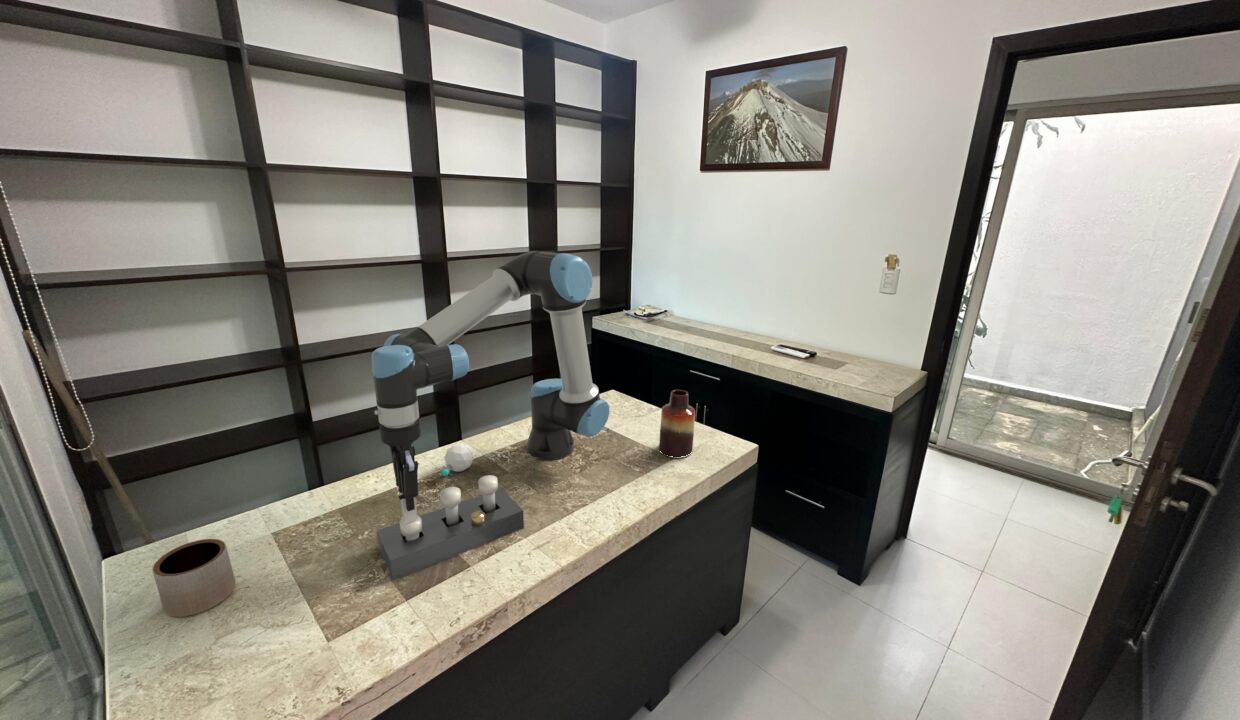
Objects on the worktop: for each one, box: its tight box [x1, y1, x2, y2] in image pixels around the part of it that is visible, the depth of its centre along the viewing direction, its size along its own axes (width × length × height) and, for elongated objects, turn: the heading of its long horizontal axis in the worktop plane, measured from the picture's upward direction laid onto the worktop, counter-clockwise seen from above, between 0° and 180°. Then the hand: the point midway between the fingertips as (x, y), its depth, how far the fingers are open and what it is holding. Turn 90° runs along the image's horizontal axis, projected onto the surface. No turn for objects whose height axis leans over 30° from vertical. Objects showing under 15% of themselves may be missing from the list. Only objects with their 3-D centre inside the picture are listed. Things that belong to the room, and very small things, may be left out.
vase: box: [658, 389, 696, 457], centre depth 157 cm, size 11×11×20 cm
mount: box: [376, 488, 525, 581], centre depth 114 cm, size 30×12×5 cm, turn 128°
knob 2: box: [477, 474, 499, 512], centre depth 117 cm, size 4×4×8 cm
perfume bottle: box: [441, 443, 474, 477], centre depth 142 cm, size 8×8×12 cm
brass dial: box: [471, 511, 485, 526], centre depth 112 cm, size 3×3×2 cm
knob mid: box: [439, 486, 462, 526], centre depth 112 cm, size 4×4×8 cm
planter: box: [152, 538, 236, 618], centre depth 94 cm, size 11×11×10 cm
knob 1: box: [399, 514, 422, 542], centre depth 108 cm, size 4×4×8 cm
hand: (410, 520), depth 107 cm, fingers closed
